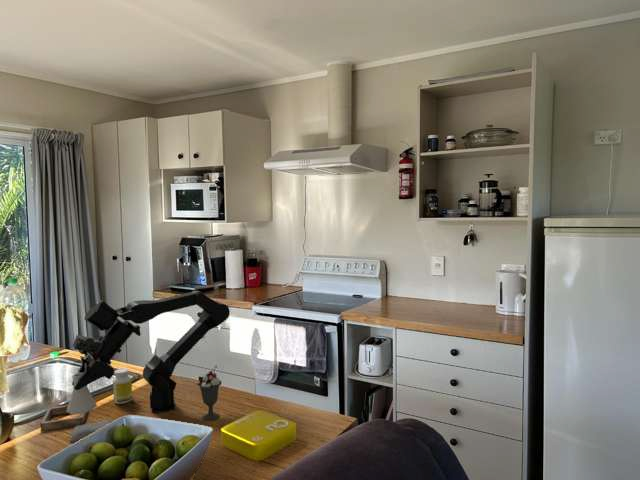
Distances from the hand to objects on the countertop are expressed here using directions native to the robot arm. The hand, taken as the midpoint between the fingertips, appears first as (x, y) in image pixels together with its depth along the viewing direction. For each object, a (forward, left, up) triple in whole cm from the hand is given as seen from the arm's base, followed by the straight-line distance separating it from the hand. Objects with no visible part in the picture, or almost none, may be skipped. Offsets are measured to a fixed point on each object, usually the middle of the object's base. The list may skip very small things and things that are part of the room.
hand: (74, 387), depth 130 cm
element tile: (-46, +23, -13) cm, 53 cm away
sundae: (-36, +5, -12) cm, 38 cm away
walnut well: (+4, -9, -12) cm, 16 cm away
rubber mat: (-4, +2, -12) cm, 13 cm away
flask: (-1, -1, -7) cm, 7 cm away
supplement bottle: (-11, -17, -12) cm, 24 cm away
